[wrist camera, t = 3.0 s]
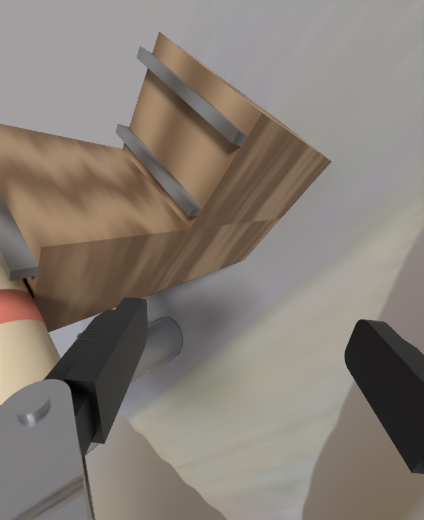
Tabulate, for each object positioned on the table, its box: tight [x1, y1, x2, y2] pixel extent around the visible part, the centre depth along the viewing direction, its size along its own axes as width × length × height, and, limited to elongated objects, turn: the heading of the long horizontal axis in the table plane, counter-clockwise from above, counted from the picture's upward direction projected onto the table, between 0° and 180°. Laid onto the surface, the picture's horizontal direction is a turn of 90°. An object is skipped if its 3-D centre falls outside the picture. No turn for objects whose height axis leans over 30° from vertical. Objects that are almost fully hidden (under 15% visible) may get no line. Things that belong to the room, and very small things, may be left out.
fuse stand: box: [0, 32, 331, 332], centre depth 25 cm, size 12×20×33 cm, turn 142°
